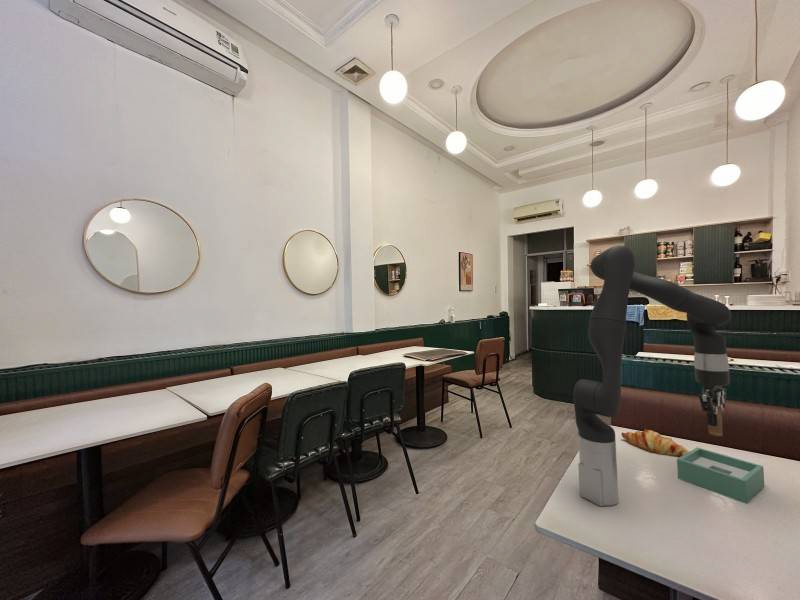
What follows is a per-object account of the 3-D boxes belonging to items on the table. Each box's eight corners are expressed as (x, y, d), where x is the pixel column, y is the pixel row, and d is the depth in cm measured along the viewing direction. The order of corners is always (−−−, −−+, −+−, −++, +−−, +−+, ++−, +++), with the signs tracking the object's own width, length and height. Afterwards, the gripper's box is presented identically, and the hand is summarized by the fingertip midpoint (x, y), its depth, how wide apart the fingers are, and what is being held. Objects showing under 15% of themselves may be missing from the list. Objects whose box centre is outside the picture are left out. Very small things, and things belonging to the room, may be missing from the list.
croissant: (693, 466, 113) (695, 443, 115) (686, 461, 107) (689, 437, 110) (624, 445, 130) (626, 426, 132) (615, 440, 124) (618, 420, 127)
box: (746, 503, 86) (745, 481, 86) (678, 478, 99) (676, 459, 100) (764, 486, 93) (763, 466, 94) (698, 465, 107) (697, 447, 107)
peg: (720, 437, 95) (718, 403, 95) (707, 433, 97) (704, 401, 97) (724, 434, 96) (722, 401, 96) (710, 431, 99) (708, 399, 99)
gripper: (719, 373, 90) (723, 434, 90) (736, 366, 97) (740, 422, 97) (685, 369, 97) (689, 425, 97) (704, 362, 103) (707, 415, 103)
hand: (715, 423), depth 97 cm, fingers closed on peg, 3 cm apart
